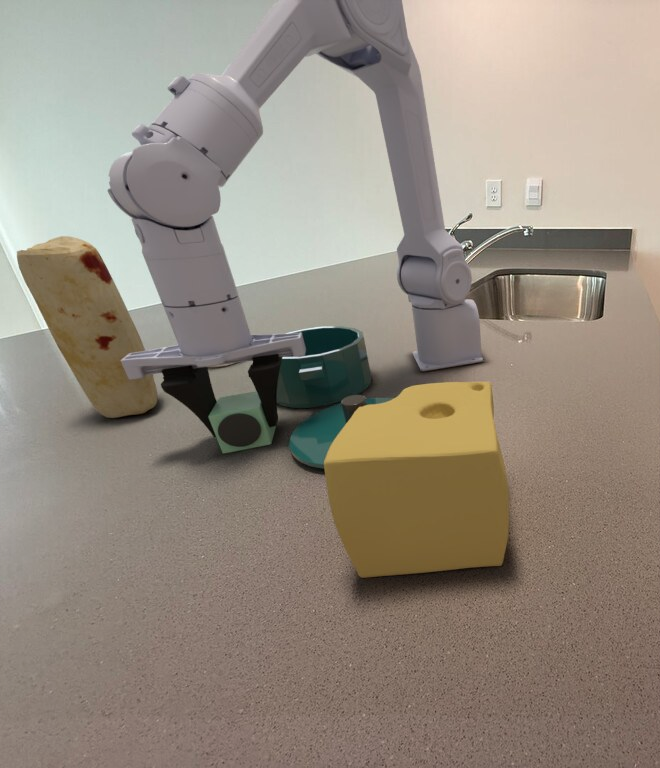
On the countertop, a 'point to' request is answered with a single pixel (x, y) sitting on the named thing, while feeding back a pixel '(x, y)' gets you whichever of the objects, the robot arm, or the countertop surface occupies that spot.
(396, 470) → the cheese
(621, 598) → the countertop surface
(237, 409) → the green speaker box
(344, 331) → the pot
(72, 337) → the food model
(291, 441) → the lid
